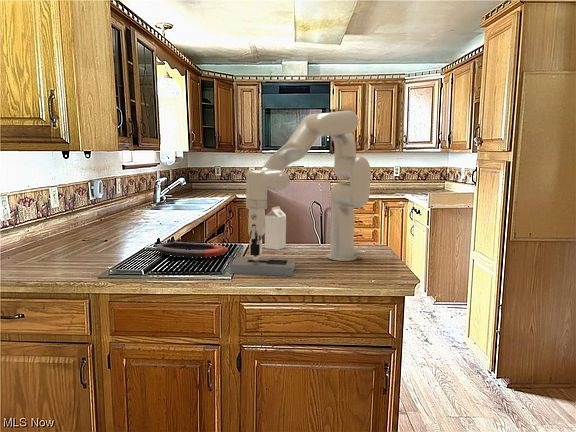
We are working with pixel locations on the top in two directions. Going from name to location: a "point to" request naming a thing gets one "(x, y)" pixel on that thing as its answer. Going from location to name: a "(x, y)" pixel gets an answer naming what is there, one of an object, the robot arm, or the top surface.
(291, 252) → the top surface
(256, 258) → the peg
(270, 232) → the milk carton
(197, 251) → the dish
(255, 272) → the keyhole plate
